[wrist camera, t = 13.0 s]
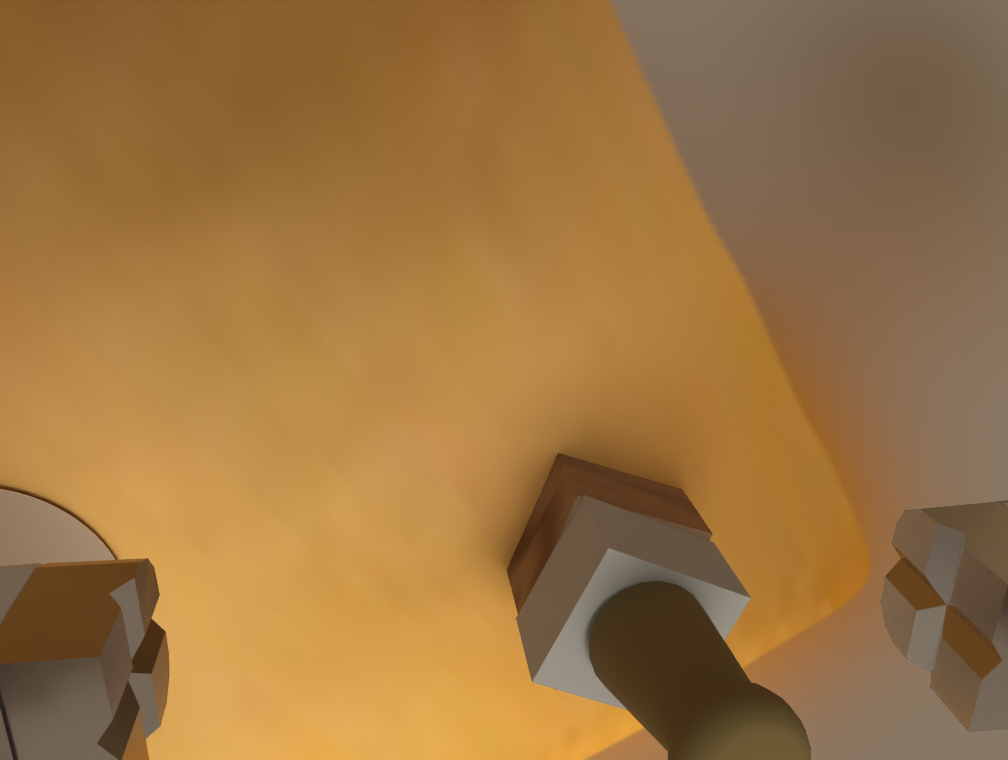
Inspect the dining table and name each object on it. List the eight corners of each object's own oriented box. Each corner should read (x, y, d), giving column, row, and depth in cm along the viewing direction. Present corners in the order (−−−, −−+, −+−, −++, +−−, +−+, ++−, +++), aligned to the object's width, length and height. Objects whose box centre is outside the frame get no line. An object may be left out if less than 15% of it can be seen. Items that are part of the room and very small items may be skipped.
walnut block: (626, 599, 54) (651, 652, 49) (506, 569, 51) (519, 621, 47) (681, 488, 51) (712, 533, 47) (557, 452, 49) (577, 495, 45)
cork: (562, 651, 41) (646, 799, 30) (650, 555, 41) (764, 669, 30) (649, 724, 42) (757, 889, 32) (733, 631, 42) (870, 765, 32)
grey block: (643, 658, 49) (671, 722, 44) (516, 618, 47) (532, 681, 42) (713, 542, 47) (751, 598, 42) (583, 494, 45) (608, 548, 40)
